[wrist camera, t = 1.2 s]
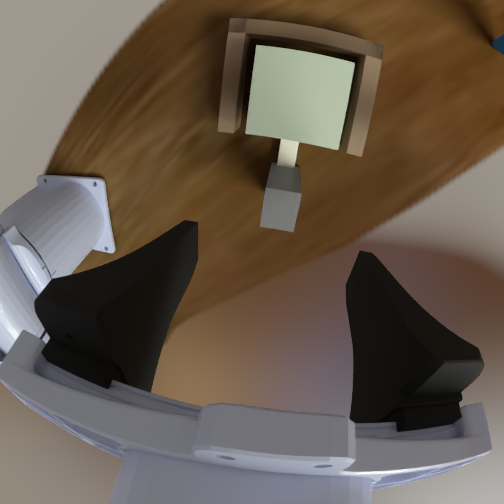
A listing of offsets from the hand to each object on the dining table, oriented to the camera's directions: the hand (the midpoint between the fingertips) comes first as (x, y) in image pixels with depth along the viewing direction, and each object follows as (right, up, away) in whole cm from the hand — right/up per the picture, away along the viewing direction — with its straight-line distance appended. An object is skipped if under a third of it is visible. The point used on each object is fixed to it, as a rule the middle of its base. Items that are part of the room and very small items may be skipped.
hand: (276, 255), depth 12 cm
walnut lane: (+2, +11, +4) cm, 11 cm away
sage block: (+2, +8, +5) cm, 10 cm away
